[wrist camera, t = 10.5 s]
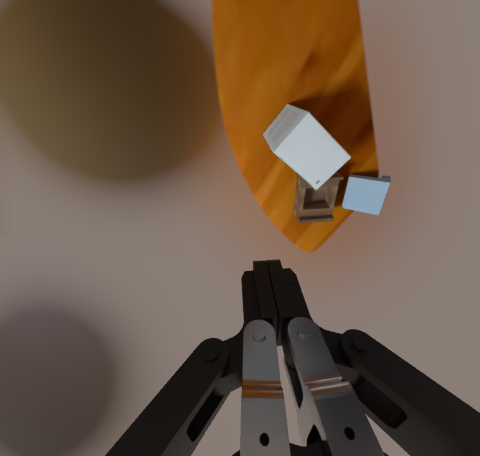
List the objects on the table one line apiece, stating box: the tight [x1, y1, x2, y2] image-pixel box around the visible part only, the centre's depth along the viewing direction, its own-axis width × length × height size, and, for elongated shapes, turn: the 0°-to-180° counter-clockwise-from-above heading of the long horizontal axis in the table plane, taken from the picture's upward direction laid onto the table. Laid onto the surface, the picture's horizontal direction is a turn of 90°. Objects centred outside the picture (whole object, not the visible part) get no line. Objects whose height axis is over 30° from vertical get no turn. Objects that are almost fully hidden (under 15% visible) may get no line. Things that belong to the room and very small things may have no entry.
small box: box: [263, 104, 351, 190], centre depth 30 cm, size 8×6×10 cm
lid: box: [342, 174, 391, 215], centre depth 39 cm, size 6×6×5 cm
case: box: [294, 171, 344, 223], centre depth 38 cm, size 8×6×4 cm
